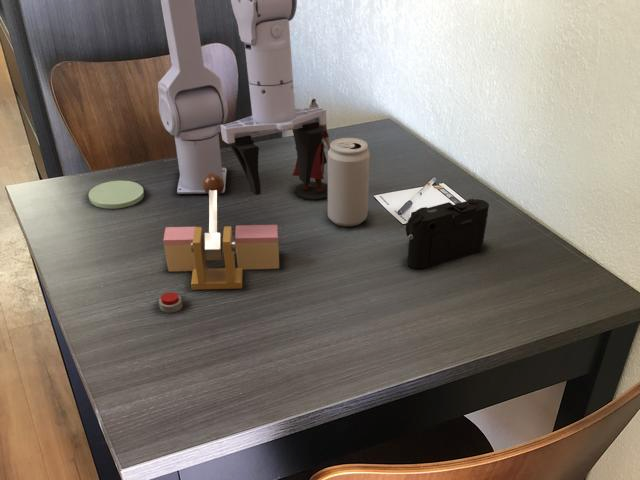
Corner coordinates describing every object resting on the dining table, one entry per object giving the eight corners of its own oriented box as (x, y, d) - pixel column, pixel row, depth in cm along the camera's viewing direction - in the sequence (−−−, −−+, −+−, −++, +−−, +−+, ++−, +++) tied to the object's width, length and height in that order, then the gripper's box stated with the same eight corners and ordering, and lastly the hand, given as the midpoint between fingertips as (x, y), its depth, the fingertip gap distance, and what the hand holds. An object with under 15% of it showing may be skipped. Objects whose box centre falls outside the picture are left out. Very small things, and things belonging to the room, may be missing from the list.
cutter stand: (193, 274, 105) (187, 227, 100) (242, 272, 105) (238, 225, 100) (191, 290, 102) (184, 242, 97) (242, 289, 102) (237, 241, 97)
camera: (461, 230, 115) (468, 181, 110) (490, 250, 111) (499, 199, 105) (386, 252, 110) (389, 201, 104) (413, 273, 106) (418, 222, 100)
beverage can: (363, 230, 115) (366, 154, 106) (323, 226, 116) (323, 150, 107) (370, 212, 119) (373, 138, 111) (331, 208, 120) (332, 134, 112)
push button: (167, 315, 97) (166, 305, 96) (155, 305, 99) (153, 296, 98) (186, 307, 99) (185, 297, 98) (174, 297, 100) (172, 288, 99)
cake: (238, 256, 109) (235, 225, 105) (278, 255, 109) (277, 224, 105) (238, 269, 106) (235, 238, 102) (279, 268, 106) (277, 237, 103)
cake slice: (170, 258, 108) (165, 227, 104) (200, 257, 108) (196, 226, 105) (168, 271, 105) (163, 240, 102) (199, 271, 105) (194, 239, 102)
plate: (94, 185, 125) (93, 180, 125) (147, 184, 126) (146, 179, 125) (85, 209, 119) (83, 204, 118) (141, 208, 119) (140, 203, 119)
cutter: (204, 183, 105) (201, 168, 102) (225, 183, 105) (222, 168, 103) (203, 261, 100) (201, 248, 98) (225, 261, 101) (223, 247, 98)
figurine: (339, 187, 126) (340, 95, 116) (323, 204, 121) (323, 110, 111) (303, 180, 128) (302, 89, 117) (286, 197, 123) (283, 104, 112)
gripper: (230, 96, 88) (243, 206, 97) (335, 77, 93) (339, 184, 102) (209, 84, 93) (224, 191, 102) (310, 67, 98) (316, 170, 107)
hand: (280, 186), depth 102 cm, fingers open, 7 cm apart
